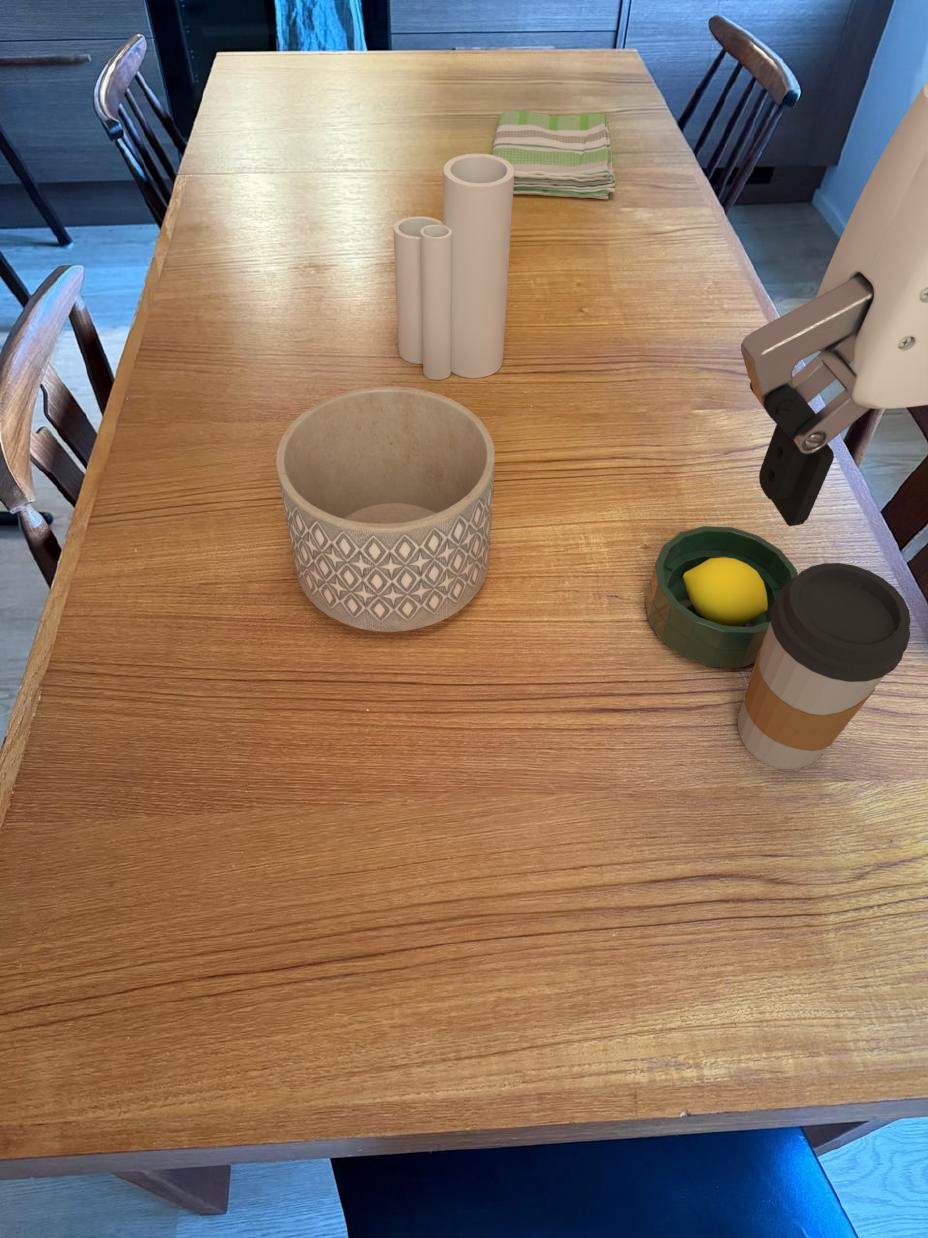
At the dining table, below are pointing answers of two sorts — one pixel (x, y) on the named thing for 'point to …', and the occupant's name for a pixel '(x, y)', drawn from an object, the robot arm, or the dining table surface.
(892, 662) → the coffee cup
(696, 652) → the bowl
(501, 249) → the vase
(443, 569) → the planter
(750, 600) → the lemon
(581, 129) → the dish towel
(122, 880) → the dining table surface
